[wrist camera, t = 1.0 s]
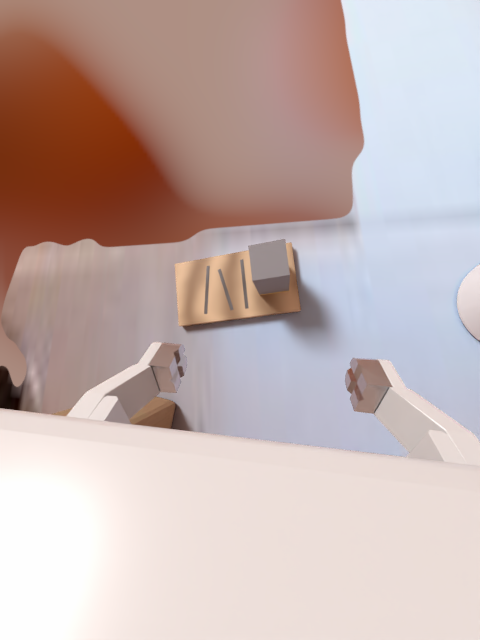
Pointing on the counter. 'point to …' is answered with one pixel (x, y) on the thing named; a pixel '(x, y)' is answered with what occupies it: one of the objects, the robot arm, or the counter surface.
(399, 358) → the counter surface
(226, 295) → the board
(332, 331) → the counter surface
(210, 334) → the counter surface
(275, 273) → the block
